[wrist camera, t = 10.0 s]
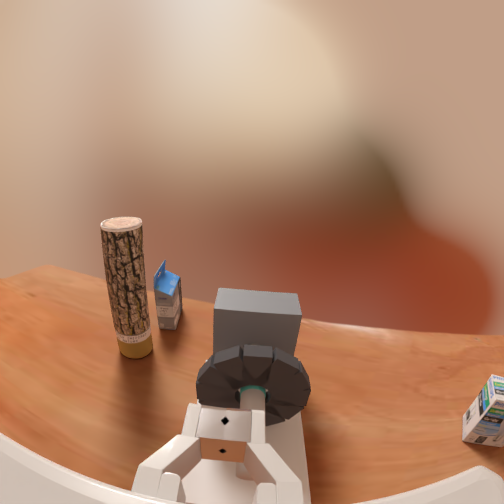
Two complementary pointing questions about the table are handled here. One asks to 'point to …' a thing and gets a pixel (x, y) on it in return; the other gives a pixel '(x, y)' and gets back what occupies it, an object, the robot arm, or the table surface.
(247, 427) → the robot arm
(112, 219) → the paper tube
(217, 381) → the ring
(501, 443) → the light bulb box
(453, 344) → the table surface
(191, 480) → the pipe rig
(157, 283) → the label tape box
